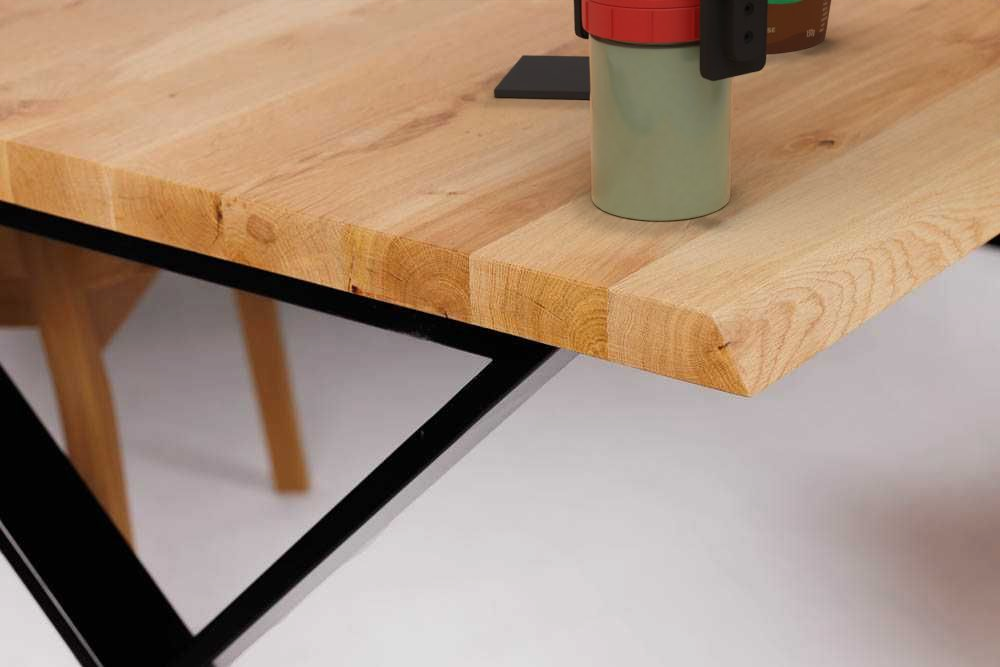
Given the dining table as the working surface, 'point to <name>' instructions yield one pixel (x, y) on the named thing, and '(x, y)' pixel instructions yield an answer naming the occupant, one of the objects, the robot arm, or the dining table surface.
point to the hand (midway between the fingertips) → (665, 53)
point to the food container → (796, 24)
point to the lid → (643, 20)
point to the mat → (547, 78)
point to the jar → (657, 131)
